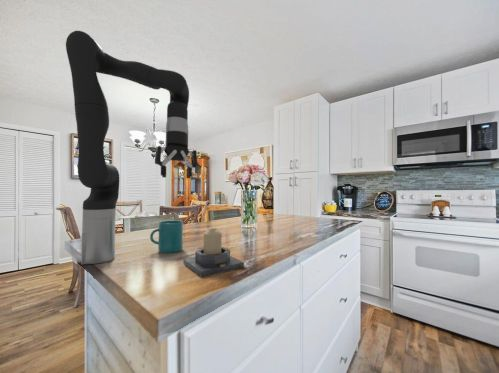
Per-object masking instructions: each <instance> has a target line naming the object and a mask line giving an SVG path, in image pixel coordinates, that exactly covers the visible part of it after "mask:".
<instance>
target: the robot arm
mask: <svg viewBox="0 0 499 373" xmlns="http://www.w3.org/2000/svg"><path fill="white" fill-rule="evenodd" d="M65 51H66V54H67V55H66V56H67V59H68V63H69V68H70V73H71V81H72V89H73V90H72V91H73V92H72V93H73V98H74V99H73V101H74V103H73V104H74V105H73V106H74V115H75V121H76V134H77V144H78V149H77V150H78V153H77V155H78V156H77V158H78V159H77V176H78V180H79V181H80V183H81V184H82V185H83V186H85V187H86V188H89V189H90V193H89V195H88V196H87V198H86V199H85V200H84V201H83V202H82V225H81V226H82V227H81V247H80V248H81V253H80V256H81V257H80V265H82V266H83V265H93V264H94V265H95V264H102V263H106V262H109V261H112V260H114V259H115V258H116V257H115V253H116V251H115V250H116V247H115V246H116V214H117V213H116V210H117V209H116V208H117V207H116V206H117V203H118V199H119V196H120V195H119V194H120V192H119V191H120V173H119V169H117V167H116V166H115V165H113V164H111V163H108V162H106V157H105V151H104V150H105V149H104V144H105V143H104V142H105V139H106V136H107V134H108V130H109V128H110V116H109V113H110V112H109V106H108V103H107V99H106V97H105V94H104V91H103V88H102V86H101V84H100V81H99V78H98V75H97V74H103V75H108V76H112V77H117V78H121V79H125V80H127V81H131V82H134V83H136V84H139V85H142V86H144V87H147V88H149V89H153V90H160V89H163V90H167V91H168V92H169V103H167V107H166V108H167V109H166V122H165V147H162V146H160V145H158V146H157V147H156V148H155V153H154V155H155V156H154V157H155V158H154V164H155V165H158V166H159V167H160V176H162V178H167V166H166V165H167V164H168V163H169V162H170V161H172V162H176V161H177V162H182V163H183V164H184V165H185V166H186V179H191V177H192V176H193V168H195V167H197V166H198V157H197V156H198V155H197V150H194V149H193V150H189V124H188V122H189V121H188V116H189V113H188V112H189V111H188V106H189V100H190V88H189V86H188V83H187V80H186V77H184V76H183V75H182V74H181V73H179V72H176V71H173V70H169V69H163V68H157V67H154V66H152V65H149V64H146V63H144V62H140V61H137V60H123V59H122V60H121V59H118V58H116V57H114V56H112V55H110V54H108V53H107V52H105V51H104V49H103V48H102V47H101V46H100V45H99V44H98V42H96V40H95V39H94V38H93V37H92V36H91V35H90V34H89V33H87V32H84V31H83V30H73V31H71V32H70V33H69V34H68V36H67V38H66V41H65ZM163 152H164V153H165V154H166V157H164V159H163V160H162V159H161V156H162V154H163ZM188 155H189V156H190V158H191V161H190V159H189V158H188ZM161 160H162V161H161Z"/></svg>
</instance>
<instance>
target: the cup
mask: <svg viewBox="0 0 499 373" xmlns="http://www.w3.org/2000/svg"><path fill="white" fill-rule="evenodd" d="M157 232H158V237H157V238H158V239H157V240H158V241H156V240H155V239H154V234H155V233H157ZM183 237H184V222H183V221H181V220H164V221H159V222H158V228H156V229H154V230H152V231H151V233H150V235H149V239H150V241H151V242H152V244H155V245H157V246H158V248H157V249H158V252H159V253H161V254H174V253H179V252H181V251H182V250H183V247H184V246H183V245H184V238H183Z"/></svg>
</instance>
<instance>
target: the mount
mask: <svg viewBox="0 0 499 373" xmlns="http://www.w3.org/2000/svg"><path fill="white" fill-rule="evenodd" d="M182 263H183V265H185V267H187V268H188V269H190V270H191V271H192V272H194V274H197V275H198V276H199V277H200V278H204V277H208V276H213V275H217V274H220V273H225V272H228V271H233V270H237V269H241V268H245V262H244V261H242V260H240V259H238V258H236V257H233V256H231V249H228V248H226V247H222V246H221V253H220V254H204V247H203V248H201V247H200V248H199V249H197V250H196V251H195V254H194V256H193V257H186V258H183V262H182Z"/></svg>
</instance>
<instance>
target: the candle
mask: <svg viewBox="0 0 499 373" xmlns="http://www.w3.org/2000/svg"><path fill="white" fill-rule="evenodd" d="M222 239H223V238H222V232H221V231H220V230H219V229H218V228H216V227H211V228H207V229H206V230H205V231H204V233H203V248H204V254H220V253H221V247H222Z"/></svg>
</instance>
